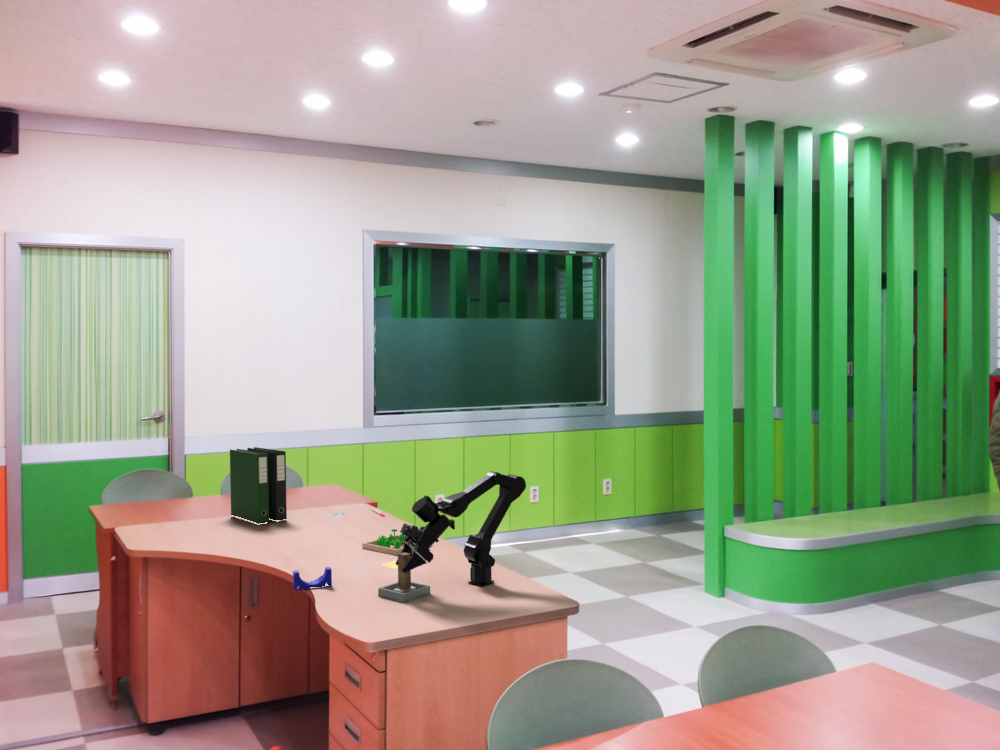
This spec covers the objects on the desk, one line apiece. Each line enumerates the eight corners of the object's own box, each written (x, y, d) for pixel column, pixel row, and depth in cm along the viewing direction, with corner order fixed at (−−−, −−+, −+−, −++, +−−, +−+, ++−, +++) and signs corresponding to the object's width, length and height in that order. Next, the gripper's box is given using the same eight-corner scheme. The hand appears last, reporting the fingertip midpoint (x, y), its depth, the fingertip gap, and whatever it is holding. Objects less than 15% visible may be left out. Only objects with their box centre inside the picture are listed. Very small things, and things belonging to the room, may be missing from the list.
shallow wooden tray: (430, 545, 337) (430, 540, 337) (396, 555, 322) (396, 550, 322) (397, 539, 349) (397, 534, 349) (362, 548, 334) (362, 543, 334)
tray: (430, 593, 271) (430, 586, 271) (404, 602, 262) (404, 594, 262) (404, 587, 278) (404, 580, 278) (378, 596, 269) (378, 588, 269)
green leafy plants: (420, 544, 340) (420, 527, 340) (401, 553, 327) (400, 535, 326) (388, 541, 346) (388, 524, 346) (368, 549, 333) (367, 532, 333)
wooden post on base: (407, 589, 273) (406, 551, 273) (415, 591, 271) (415, 553, 270) (393, 594, 269) (392, 554, 268) (402, 596, 266) (401, 556, 266)
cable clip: (329, 583, 285) (328, 565, 284) (331, 587, 280) (331, 569, 280) (292, 587, 280) (292, 569, 280) (294, 591, 276) (294, 573, 276)
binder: (229, 517, 399) (228, 449, 398) (258, 513, 410) (257, 446, 409) (258, 525, 380) (257, 454, 379) (288, 520, 390) (286, 451, 390)
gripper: (408, 509, 279) (375, 545, 276) (422, 519, 262) (388, 558, 258) (432, 531, 282) (400, 567, 279) (447, 543, 264) (413, 581, 261)
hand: (399, 568), depth 269 cm, fingers open, 9 cm apart
